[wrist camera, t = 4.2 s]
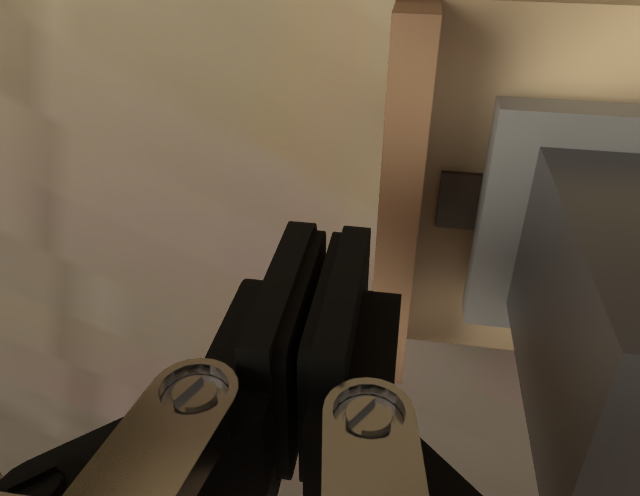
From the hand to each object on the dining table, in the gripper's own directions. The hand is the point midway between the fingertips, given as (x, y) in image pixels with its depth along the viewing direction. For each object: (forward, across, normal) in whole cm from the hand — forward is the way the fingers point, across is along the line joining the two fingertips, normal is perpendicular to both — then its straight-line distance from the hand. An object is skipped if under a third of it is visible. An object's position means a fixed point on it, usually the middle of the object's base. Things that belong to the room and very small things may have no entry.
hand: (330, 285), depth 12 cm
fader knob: (+4, -6, 0) cm, 7 cm away
